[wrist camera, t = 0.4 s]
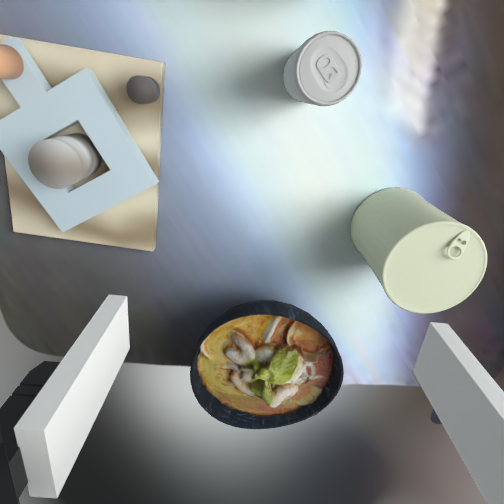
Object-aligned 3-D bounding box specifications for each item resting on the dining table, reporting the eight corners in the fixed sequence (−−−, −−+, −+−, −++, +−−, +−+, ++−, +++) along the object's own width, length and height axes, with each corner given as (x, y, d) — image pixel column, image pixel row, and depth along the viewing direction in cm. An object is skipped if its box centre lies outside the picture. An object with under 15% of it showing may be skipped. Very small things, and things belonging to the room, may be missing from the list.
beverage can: (300, 112, 38) (319, 121, 27) (272, 71, 36) (280, 62, 25) (340, 80, 36) (377, 76, 25) (313, 36, 35) (339, 11, 24)
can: (446, 211, 42) (515, 254, 31) (396, 273, 45) (442, 332, 34) (382, 172, 40) (430, 203, 29) (334, 239, 43) (362, 290, 32)
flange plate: (159, 181, 39) (141, 198, 33) (69, 227, 41) (37, 251, 35) (58, 13, 33) (14, -4, 27) (-41, 78, 35) (-102, 76, 29)
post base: (-3, 34, 35) (-60, 21, 28) (164, 62, 36) (145, 56, 29) (19, 228, 43) (-22, 252, 36) (155, 247, 44) (138, 274, 37)
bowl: (174, 316, 48) (155, 370, 39) (284, 249, 44) (292, 291, 35) (248, 397, 54) (246, 460, 44) (351, 344, 50) (373, 401, 40)
